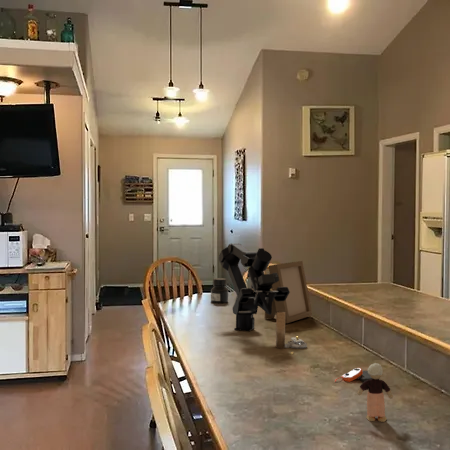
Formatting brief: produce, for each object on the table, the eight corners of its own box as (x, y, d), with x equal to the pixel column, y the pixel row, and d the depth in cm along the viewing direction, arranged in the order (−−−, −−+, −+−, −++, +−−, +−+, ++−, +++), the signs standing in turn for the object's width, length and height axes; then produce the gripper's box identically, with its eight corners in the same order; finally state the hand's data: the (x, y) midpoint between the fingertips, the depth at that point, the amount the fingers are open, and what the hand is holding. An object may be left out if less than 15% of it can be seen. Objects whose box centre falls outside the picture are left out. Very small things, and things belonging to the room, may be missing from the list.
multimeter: (317, 389, 140) (318, 376, 140) (309, 375, 152) (310, 363, 152) (384, 390, 141) (385, 377, 140) (371, 376, 153) (371, 364, 152)
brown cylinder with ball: (272, 345, 180) (273, 310, 180) (300, 343, 184) (300, 309, 183) (280, 350, 174) (281, 314, 174) (309, 348, 178) (309, 312, 177)
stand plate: (263, 342, 188) (263, 336, 188) (300, 339, 193) (300, 333, 193) (288, 357, 169) (288, 350, 169) (329, 353, 174) (329, 346, 174)
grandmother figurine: (387, 415, 121) (389, 361, 121) (393, 422, 117) (395, 366, 117) (354, 415, 121) (355, 361, 121) (359, 422, 117) (360, 366, 117)
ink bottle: (207, 301, 274) (208, 278, 274) (223, 300, 278) (223, 277, 278) (215, 304, 265) (215, 280, 265) (231, 303, 269) (231, 279, 269)
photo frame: (312, 317, 235) (313, 261, 234) (287, 325, 218) (288, 265, 217) (283, 313, 244) (284, 259, 243) (257, 320, 227) (258, 262, 226)
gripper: (240, 265, 188) (252, 301, 177) (287, 264, 194) (301, 299, 183) (232, 285, 195) (243, 320, 185) (278, 283, 201) (291, 317, 191)
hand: (270, 314), depth 186 cm, fingers closed
